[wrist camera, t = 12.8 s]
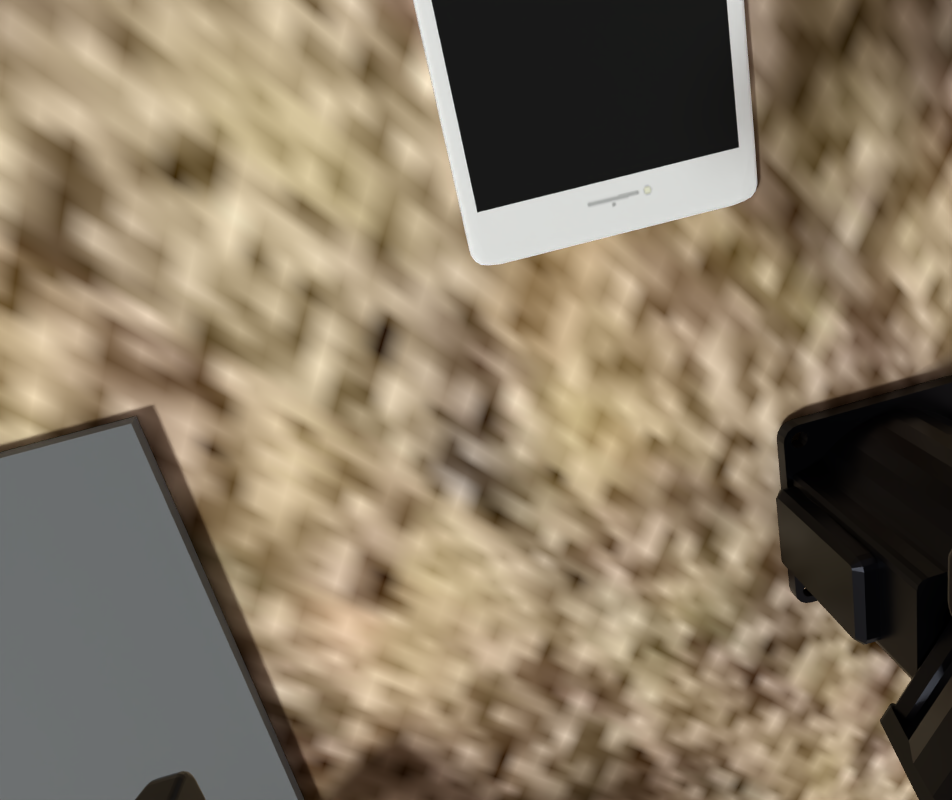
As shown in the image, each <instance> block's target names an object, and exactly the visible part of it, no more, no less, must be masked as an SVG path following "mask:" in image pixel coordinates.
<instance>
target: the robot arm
mask: <svg viewBox="0 0 952 800" xmlns="http://www.w3.org/2000/svg"><path fill="white" fill-rule="evenodd" d="M799 432H801V434H800V437H799V438H798V440H796V441H794V442H792V438H793V436H794V435H795V434H797V433H799ZM777 446H778V458H779V470H780V482H781V490H780V491H779V493H778V496H777V498H776V502H777V513H778V525H779V536H780V547H781V559H782V562H783V564H784V565H785V566H786V567H787V568H788V576H789V587H790V590H791V592H792V593H793V594H794V595H795V596H796V597H797V599H799V600H800V601H801V602H804V603H809V602H814V601H817V600H818V601H819V602H820V604H821V605H822V606H823V607H824V608H825V609H826V610H827V611H828V612H829V613H830V614H831V615H832V616H833V617H834V619H835V620H836V621H837V622H838V623H839V624H840V625H841V626H842V627H843V628H844V629H845V630H846V631H847V632H848V634H849V635H850V636H851V637H852V638H853V639H855V640H856V641H858V642H860V643H862V644H863V645H864V644H868V643H871V642H876V643H877V644H878V645H879V646H880V647H881V648H882V649H883V650H884V651H885V652H886V653H887V654H888V655H889V656H890V657H891V658H892V659H893V660H894V661H895V662H896V663H897V664H898V665H899V666H900V667H901V668H902V669H903V671H904V672H905V673H906V674H907V675H908V676H909V677H910V678H911V679H912V680H911V681H910V683H909V684H908V686H907V687H906V689H905V690H904V692H903V693H902V695H901V696H900V698H899V700H898V701H897V703H896V704H894V703H891V704H890V705H889V707H888V708H887V710H886V712H885V713H884V715H883V716H882V718H881V719H880V722H881V724H882V726H883V728H884V730H885V732H886V734H887V736H888V738H889V740H890V742H891V744H892V746H893V748H894V750H895V752H896V755H897V757H898V759H899V761H900V763H901V765H902V767H903V769H904V771H905V773H906V775H907V777H908V779H909V781H910V783H911V785H912V787H913V789H914V791H915V793H916V795H917V797H918V799H919V800H952V375H951V376H948V377H944V378H940V379H937V380H933V381H930V382H926V383H922V384H919V385H915V386H911V387H908V388H904V389H901V390H897V391H893V392H890V393H886V394H883V395H879V396H875V397H872V398H868V399H865V400H861V401H857V402H854V403H850V404H847V405H843V406H839V407H836V408H832V409H829V410H825V411H821V412H818V413H814V414H811V415H807V416H803V417H800V418H796V419H793V420H790V421H788V422H786V423H785V424H784V425H782V426H781V428H780V429H779V431H778V434H777ZM805 587H806V589H804V588H805ZM135 800H206V799H205V797H204V795H203V793H202V791H201V789H200V787H199V785H198V783H197V781H196V779H195V778H194V777H193V775H192V774H191V773H189V772H187V771H181V772H177V773H174V774H170V775H167V776H164V777H160V778H157V779H155V780H152V781H151V782H149V783H148V784H147V785H146V786H145V788H144V789H143V790H142V791H141V792H140V794H139V795H138V796H137V797H136V799H135Z"/></svg>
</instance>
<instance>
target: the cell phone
mask: <svg viewBox="0 0 952 800" xmlns="http://www.w3.org/2000/svg"><path fill="white" fill-rule="evenodd" d="M413 3H414V7H415V11H416V16H417V20H418V25H419V29H420V34H421V38H422V43H423V47H424V51H425V56H426V60H427V65H428V69H429V74H430V78H431V83H432V87H433V91H434V96H435V100H436V105H437V109H438V114H439V118H440V123H441V127H442V131H443V136H444V140H445V145H446V149H447V154H448V158H449V163H450V167H451V171H452V176H453V180H454V185H455V189H456V194H457V198H458V203H459V207H460V211H461V216H462V220H463V225H464V229H465V234H466V238H467V243H468V247H469V251H470V254H471V256H472V257H473V259H474V260H475V261H476V262H477V263H479V264H481V265H497V264H503V263H507V262H511V261H515V260H519V259H523V258H527V257H531V256H535V255H539V254H543V253H547V252H551V251H554V250H558V249H562V248H566V247H570V246H574V245H578V244H582V243H586V242H590V241H594V240H598V239H602V238H606V237H610V236H614V235H618V234H622V233H626V232H630V231H634V230H638V229H641V228H645V227H649V226H653V225H657V224H661V223H665V222H669V221H673V220H677V219H681V218H685V217H689V216H693V215H697V214H701V213H705V212H709V211H713V210H717V209H721V208H725V207H728V206H732V205H735V204H738V203H740V202H743V201H745V200H747V199H748V198H750V197H752V195H753V194H754V192H755V191H756V187H757V169H756V153H755V140H754V127H753V114H752V101H751V88H750V75H749V62H748V49H747V36H746V23H745V10H744V0H413Z"/></svg>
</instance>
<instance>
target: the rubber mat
mask: <svg viewBox="0 0 952 800" xmlns="http://www.w3.org/2000/svg"><path fill="white" fill-rule="evenodd" d="M181 771H187V772H189V773H191V774H192V775H193V777H194V778H195V779H196V781H197V783H198V785H199V787H200V789H201V791H202V793H203V795H204V797H205V799H206V800H304V798H303V795H302V793H301V791H300V789H299V786H298V784H297V782H296V779H295V777H294V775H293V773H292V770H291V768H290V766H289V763H288V761H287V759H286V757H285V754H284V752H283V750H282V748H281V745H280V743H279V741H278V738H277V736H276V734H275V732H274V729H273V727H272V725H271V722H270V720H269V718H268V716H267V713H266V711H265V709H264V706H263V704H262V702H261V700H260V697H259V695H258V693H257V690H256V688H255V686H254V684H253V681H252V679H251V677H250V675H249V672H248V670H247V668H246V665H245V663H244V661H243V659H242V656H241V654H240V652H239V649H238V647H237V645H236V643H235V640H234V638H233V636H232V633H231V631H230V629H229V627H228V624H227V622H226V620H225V618H224V615H223V613H222V611H221V608H220V606H219V604H218V602H217V599H216V597H215V595H214V592H213V590H212V588H211V586H210V583H209V581H208V579H207V576H206V574H205V572H204V570H203V567H202V565H201V563H200V560H199V558H198V556H197V554H196V551H195V549H194V547H193V545H192V542H191V540H190V538H189V535H188V533H187V531H186V529H185V526H184V524H183V522H182V519H181V517H180V515H179V513H178V510H177V508H176V506H175V503H174V501H173V499H172V497H171V494H170V492H169V490H168V487H167V485H166V483H165V481H164V478H163V476H162V474H161V472H160V469H159V467H158V465H157V462H156V460H155V458H154V456H153V453H152V451H151V449H150V446H149V444H148V442H147V440H146V437H145V435H144V433H143V430H142V428H141V426H140V424H139V421H138V419H137V417H136V416H135V417H131V418H128V419H124V420H120V421H116V422H113V423H109V424H105V425H101V426H97V427H94V428H90V429H86V430H82V431H79V432H75V433H71V434H67V435H63V436H60V437H56V438H52V439H48V440H45V441H41V442H37V443H33V444H30V445H26V446H22V447H18V448H14V449H11V450H7V451H3V452H0V800H135V799H136V797H137V796H138V795H139V794H140V792H141V791H142V790H143V789H144V788H145V786H146V785H147V784H148V783H149V782H151V781H152V780H155V779H157V778H160V777H164V776H167V775H170V774H174V773H177V772H181Z"/></svg>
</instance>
